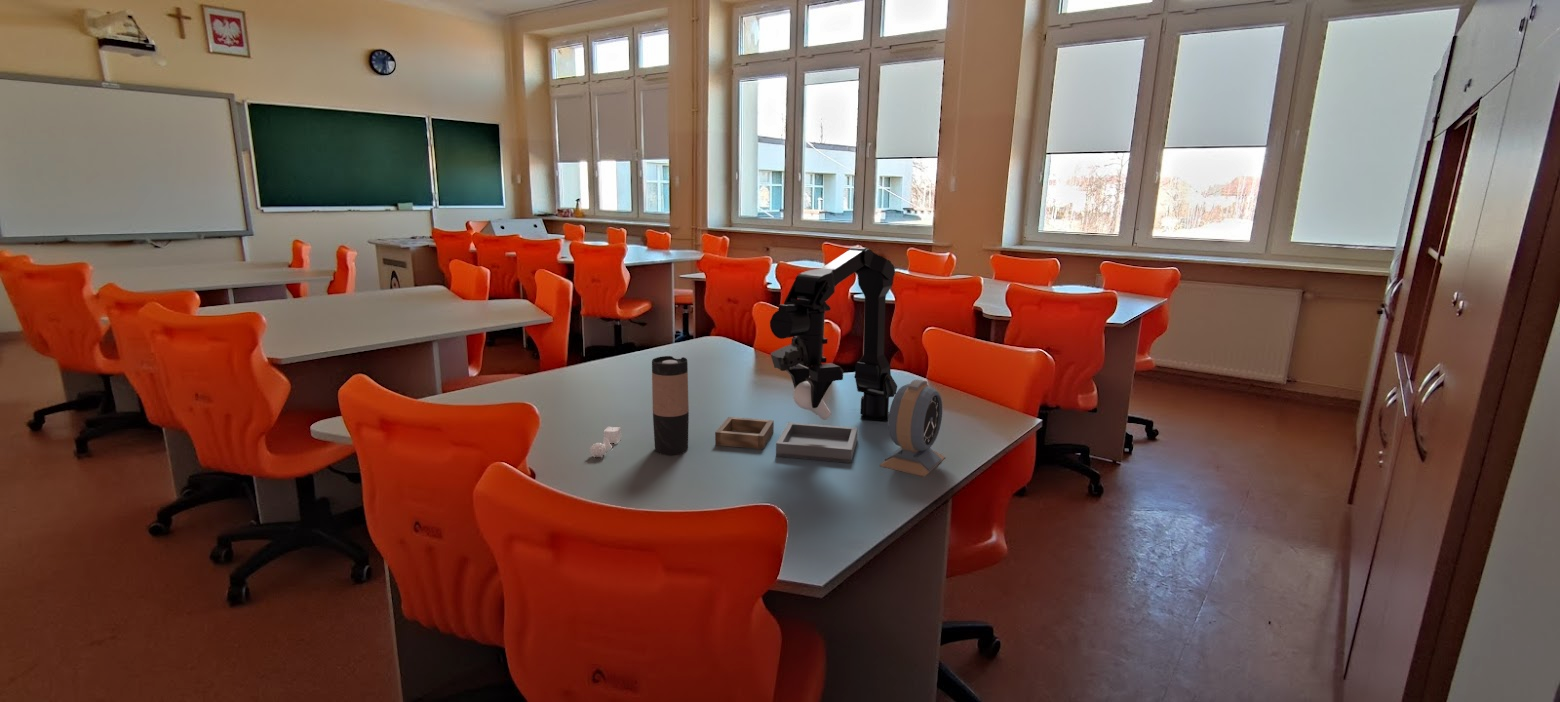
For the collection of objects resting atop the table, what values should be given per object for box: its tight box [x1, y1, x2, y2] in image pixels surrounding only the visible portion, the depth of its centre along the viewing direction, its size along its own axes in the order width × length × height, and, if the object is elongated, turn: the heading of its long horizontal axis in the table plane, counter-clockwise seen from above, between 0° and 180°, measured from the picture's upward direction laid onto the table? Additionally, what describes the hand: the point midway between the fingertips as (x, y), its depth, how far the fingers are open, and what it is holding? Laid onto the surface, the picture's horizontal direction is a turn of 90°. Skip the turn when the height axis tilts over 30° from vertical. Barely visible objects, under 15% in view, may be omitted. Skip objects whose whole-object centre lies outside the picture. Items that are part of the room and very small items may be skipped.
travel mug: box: [651, 355, 690, 456], centre depth 150 cm, size 8×8×20 cm
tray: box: [775, 421, 859, 464], centre depth 154 cm, size 16×14×3 cm
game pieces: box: [589, 426, 622, 458], centre depth 152 cm, size 12×3×3 cm, turn 175°
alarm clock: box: [879, 379, 946, 477], centre depth 146 cm, size 14×10×18 cm
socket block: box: [714, 416, 775, 450], centre depth 159 cm, size 11×11×3 cm
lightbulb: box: [792, 381, 832, 421], centre depth 153 cm, size 6×6×11 cm
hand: (807, 403), depth 152 cm, fingers closed on lightbulb, 6 cm apart
